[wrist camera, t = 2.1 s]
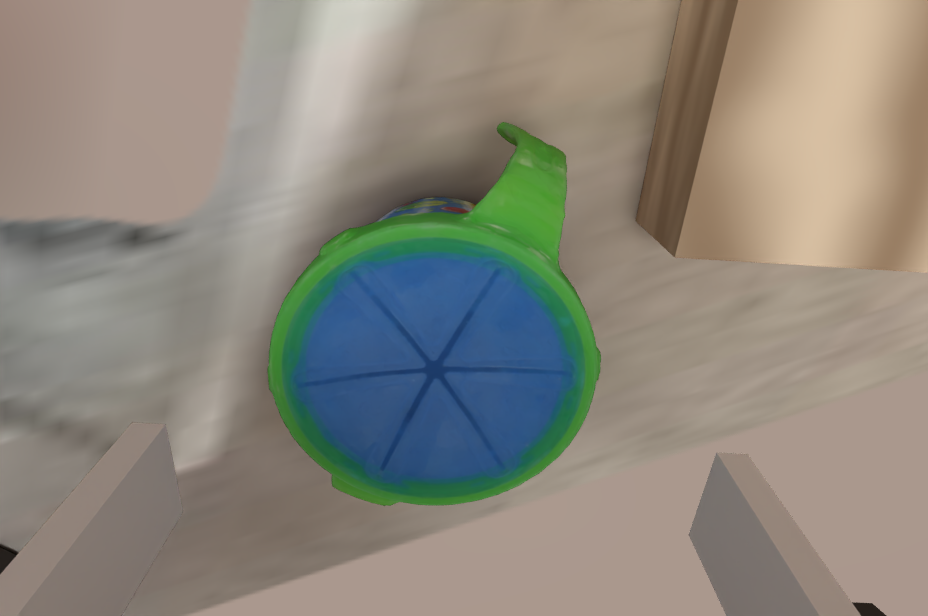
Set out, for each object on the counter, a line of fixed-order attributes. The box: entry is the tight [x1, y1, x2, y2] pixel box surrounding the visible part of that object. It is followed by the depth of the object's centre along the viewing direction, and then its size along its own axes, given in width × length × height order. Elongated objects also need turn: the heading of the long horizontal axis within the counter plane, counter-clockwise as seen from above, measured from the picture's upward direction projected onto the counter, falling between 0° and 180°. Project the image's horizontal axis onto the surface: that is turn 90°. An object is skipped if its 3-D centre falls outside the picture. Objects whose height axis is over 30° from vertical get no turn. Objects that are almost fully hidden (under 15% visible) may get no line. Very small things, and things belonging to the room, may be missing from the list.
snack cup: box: [268, 122, 601, 506], centre depth 22 cm, size 16×10×10 cm
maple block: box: [636, 0, 928, 273], centre depth 21 cm, size 14×14×5 cm
